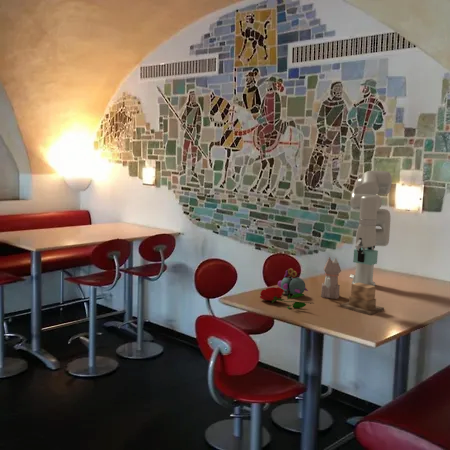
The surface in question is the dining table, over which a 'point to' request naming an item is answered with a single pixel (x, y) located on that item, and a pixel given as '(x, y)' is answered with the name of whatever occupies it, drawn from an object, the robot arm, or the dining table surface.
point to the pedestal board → (371, 311)
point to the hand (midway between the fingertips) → (365, 260)
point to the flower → (276, 293)
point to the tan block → (363, 291)
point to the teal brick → (367, 257)
